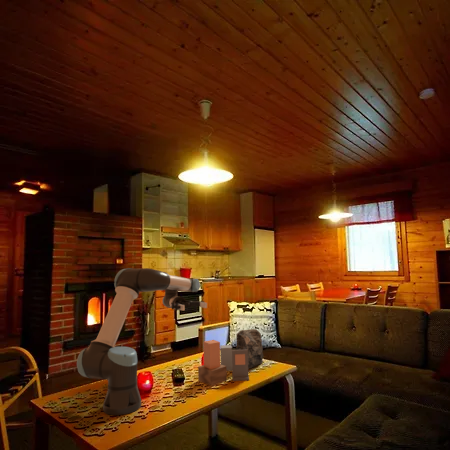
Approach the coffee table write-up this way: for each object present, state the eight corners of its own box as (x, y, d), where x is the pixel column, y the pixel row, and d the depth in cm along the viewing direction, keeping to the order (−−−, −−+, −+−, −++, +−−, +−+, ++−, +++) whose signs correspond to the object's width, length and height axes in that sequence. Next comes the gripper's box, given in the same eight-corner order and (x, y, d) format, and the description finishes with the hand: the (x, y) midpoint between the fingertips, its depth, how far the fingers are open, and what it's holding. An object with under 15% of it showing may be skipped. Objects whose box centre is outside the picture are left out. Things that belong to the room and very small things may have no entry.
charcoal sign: (233, 380, 170) (232, 351, 172) (232, 378, 174) (231, 349, 176) (249, 380, 171) (248, 351, 172) (248, 377, 175) (247, 349, 176)
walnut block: (198, 381, 172) (198, 366, 172) (213, 376, 179) (212, 362, 179) (211, 386, 165) (211, 371, 165) (226, 380, 172) (226, 366, 172)
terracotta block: (203, 366, 173) (203, 341, 174) (213, 363, 176) (213, 339, 178) (209, 369, 168) (209, 343, 169) (220, 366, 171) (219, 342, 173)
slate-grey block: (221, 371, 186) (220, 348, 187) (220, 367, 192) (220, 345, 193) (232, 370, 186) (231, 347, 187) (231, 367, 192) (231, 345, 193)
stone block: (244, 371, 185) (243, 333, 187) (233, 367, 191) (232, 330, 193) (267, 364, 196) (266, 328, 198) (256, 360, 203) (255, 326, 205)
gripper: (196, 307, 209) (215, 311, 191) (158, 311, 195) (174, 316, 178) (196, 295, 210) (215, 297, 192) (158, 298, 196) (174, 301, 178)
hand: (195, 306), depth 185 cm, fingers open, 13 cm apart
